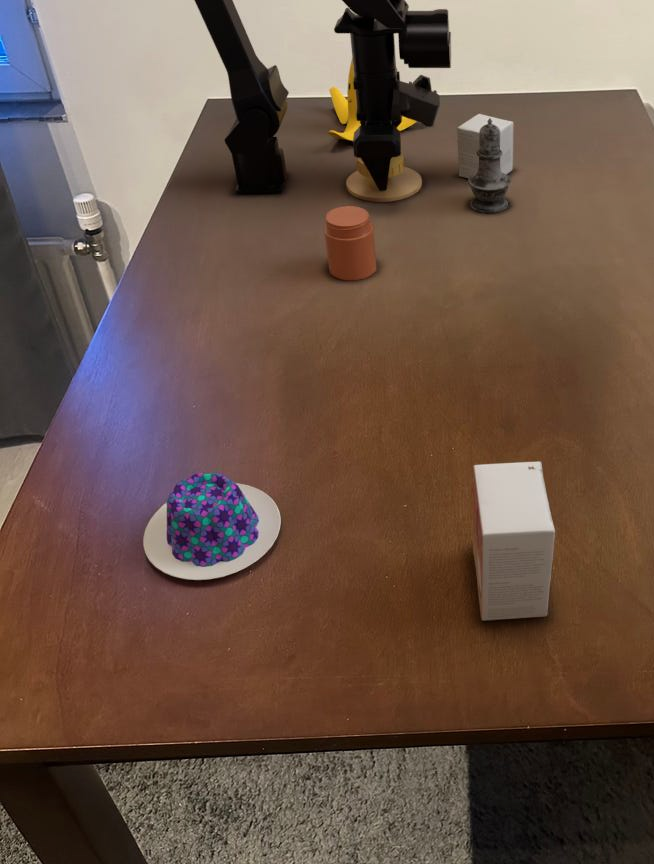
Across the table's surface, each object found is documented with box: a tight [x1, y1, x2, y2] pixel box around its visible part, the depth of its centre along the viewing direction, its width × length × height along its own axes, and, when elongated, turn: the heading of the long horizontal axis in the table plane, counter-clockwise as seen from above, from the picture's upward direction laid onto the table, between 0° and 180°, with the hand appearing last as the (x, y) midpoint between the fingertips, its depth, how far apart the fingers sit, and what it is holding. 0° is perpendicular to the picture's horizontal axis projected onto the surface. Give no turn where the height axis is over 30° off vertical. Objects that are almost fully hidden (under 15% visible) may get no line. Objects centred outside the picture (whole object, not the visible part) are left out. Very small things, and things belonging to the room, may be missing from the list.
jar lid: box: [356, 151, 405, 178], centre depth 128 cm, size 7×7×2 cm
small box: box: [472, 461, 556, 622], centre depth 72 cm, size 8×6×10 cm
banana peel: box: [328, 58, 417, 142], centre depth 139 cm, size 16×19×17 cm
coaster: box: [345, 166, 423, 203], centre depth 130 cm, size 11×11×1 cm
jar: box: [323, 205, 378, 281], centre depth 111 cm, size 6×6×7 cm
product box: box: [456, 113, 514, 179], centre depth 130 cm, size 6×6×7 cm
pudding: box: [142, 472, 282, 581], centre depth 78 cm, size 12×12×5 cm
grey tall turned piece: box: [467, 118, 512, 214], centre depth 121 cm, size 6×6×12 cm
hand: (383, 180), depth 130 cm, fingers closed on jar lid, 6 cm apart
